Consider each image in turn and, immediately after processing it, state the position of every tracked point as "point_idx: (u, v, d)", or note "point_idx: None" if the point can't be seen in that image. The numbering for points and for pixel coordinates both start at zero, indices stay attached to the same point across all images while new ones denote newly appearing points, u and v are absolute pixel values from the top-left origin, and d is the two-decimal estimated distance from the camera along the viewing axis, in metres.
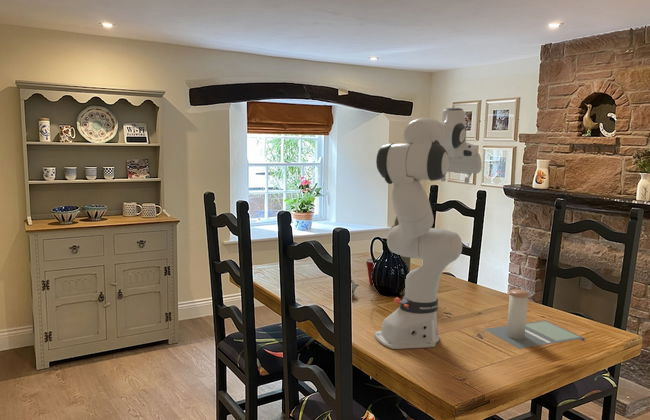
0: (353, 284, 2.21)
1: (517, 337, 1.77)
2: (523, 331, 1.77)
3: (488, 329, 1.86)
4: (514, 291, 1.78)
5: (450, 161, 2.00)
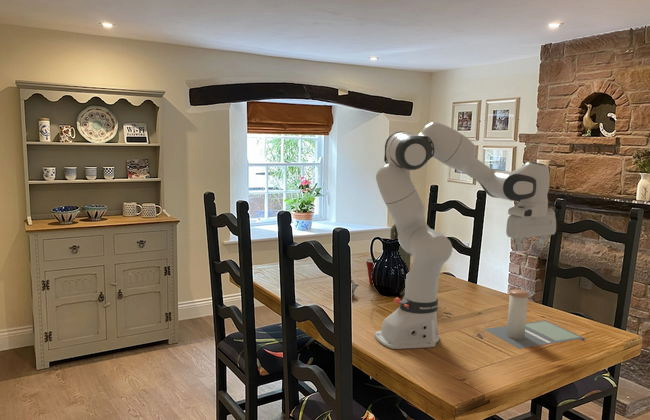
0: (353, 284, 2.21)
1: (517, 337, 1.77)
2: (523, 331, 1.77)
3: (488, 329, 1.86)
4: (514, 291, 1.78)
5: None
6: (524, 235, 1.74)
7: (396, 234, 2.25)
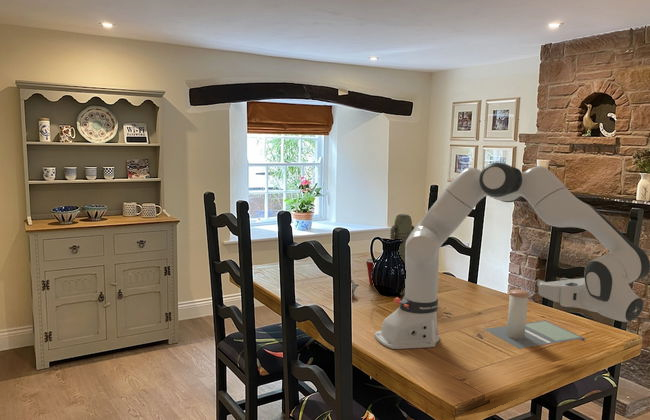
0: (353, 284, 2.21)
1: (517, 337, 1.77)
2: (523, 331, 1.77)
3: (488, 329, 1.86)
4: (514, 291, 1.78)
5: None
6: None
7: (396, 234, 2.25)
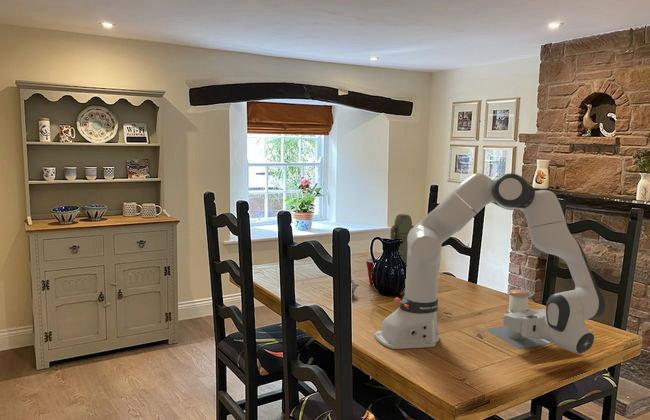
0: (353, 284, 2.21)
1: (517, 337, 1.77)
2: None
3: (488, 329, 1.86)
4: (514, 291, 1.78)
5: None
6: None
7: (396, 234, 2.25)
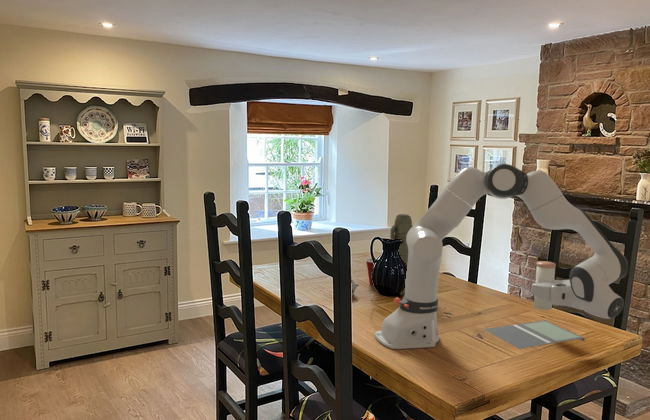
0: (353, 284, 2.21)
1: (545, 307, 1.80)
2: (550, 302, 1.80)
3: (488, 329, 1.86)
4: (540, 262, 1.81)
5: None
6: None
7: (396, 234, 2.25)
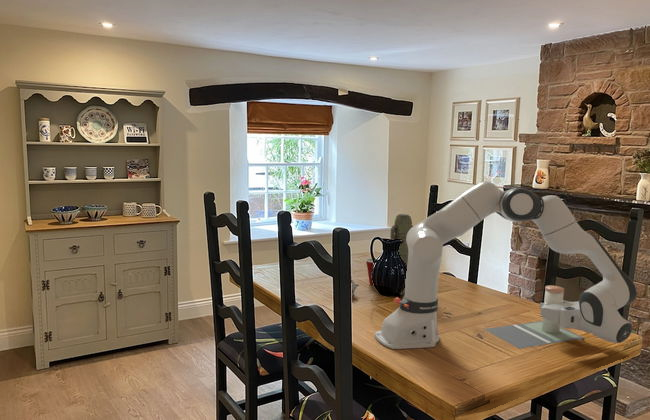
0: (353, 284, 2.21)
1: (553, 331, 1.83)
2: (558, 326, 1.83)
3: (488, 329, 1.86)
4: (549, 287, 1.84)
5: None
6: None
7: (396, 234, 2.25)
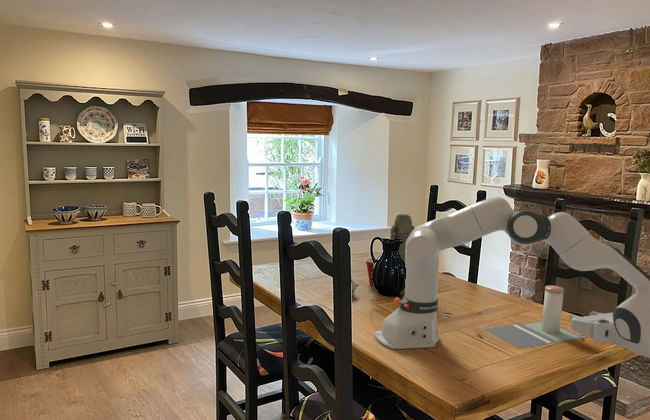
0: (353, 284, 2.21)
1: (553, 331, 1.83)
2: (558, 326, 1.83)
3: (488, 329, 1.86)
4: (549, 287, 1.84)
5: None
6: None
7: (396, 234, 2.25)
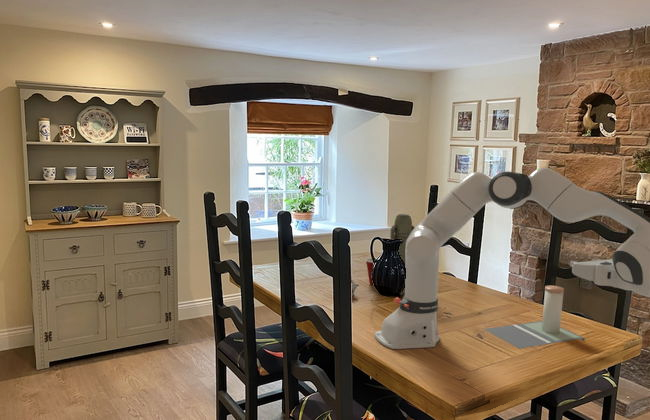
0: (353, 284, 2.21)
1: (553, 331, 1.83)
2: (558, 326, 1.83)
3: (488, 329, 1.86)
4: (549, 287, 1.84)
5: None
6: None
7: (396, 234, 2.25)
